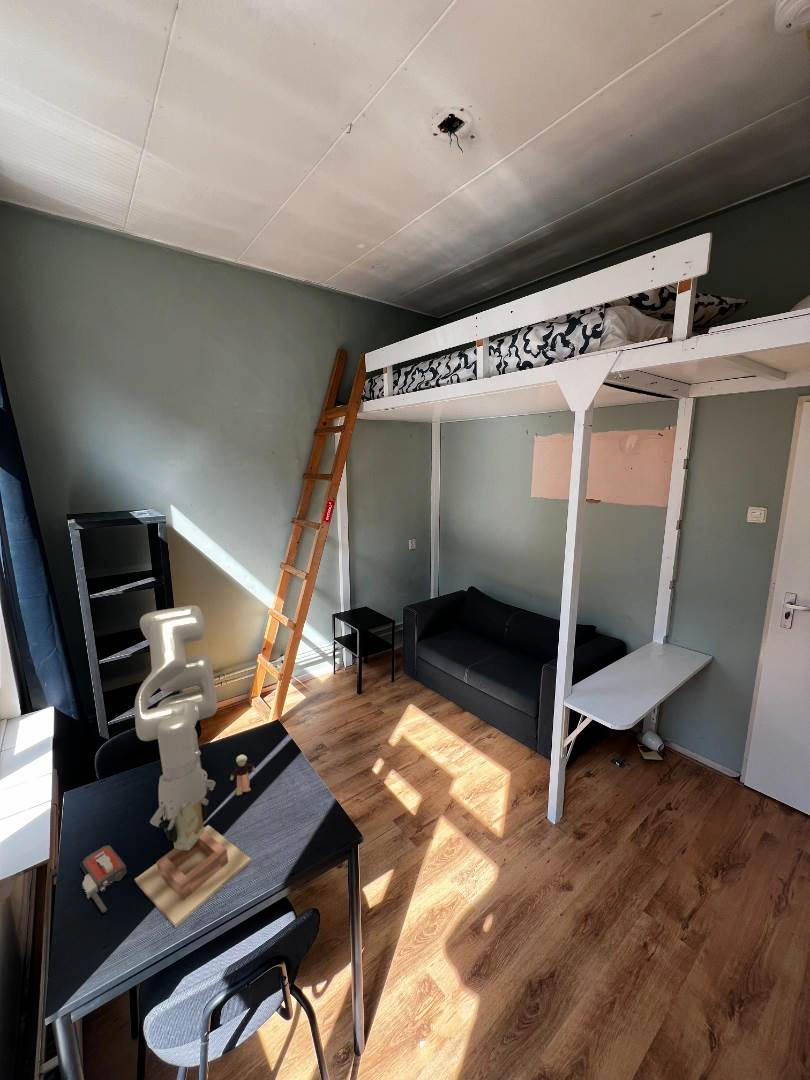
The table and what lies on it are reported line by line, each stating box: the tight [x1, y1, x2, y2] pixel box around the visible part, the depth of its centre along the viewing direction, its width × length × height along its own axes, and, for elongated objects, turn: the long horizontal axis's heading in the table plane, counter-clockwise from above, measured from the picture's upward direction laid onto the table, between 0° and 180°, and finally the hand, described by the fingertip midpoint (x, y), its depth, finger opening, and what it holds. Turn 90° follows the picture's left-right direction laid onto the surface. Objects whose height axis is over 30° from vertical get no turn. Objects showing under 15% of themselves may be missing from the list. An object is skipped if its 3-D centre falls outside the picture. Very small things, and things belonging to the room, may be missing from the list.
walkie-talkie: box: [79, 845, 128, 913], centre depth 111 cm, size 9×4×20 cm
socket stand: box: [134, 824, 252, 929], centre depth 112 cm, size 20×20×5 cm
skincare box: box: [173, 801, 205, 850], centre depth 110 cm, size 6×4×12 cm
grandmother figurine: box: [229, 754, 256, 796], centre depth 140 cm, size 8×4×13 cm, turn 131°
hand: (188, 827), depth 110 cm, fingers closed on skincare box, 7 cm apart
